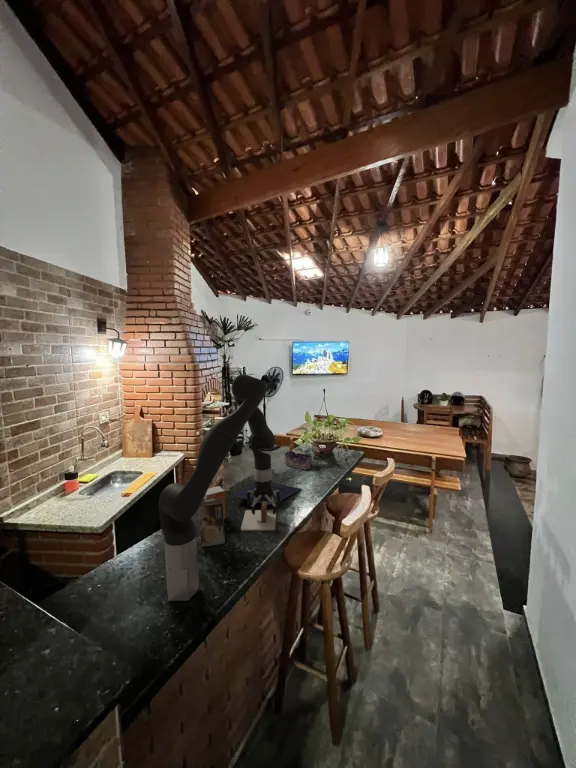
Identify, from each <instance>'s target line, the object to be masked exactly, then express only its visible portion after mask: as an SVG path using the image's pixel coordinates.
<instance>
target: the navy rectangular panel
mask: <svg viewBox="0 0 576 768" xmlns="http://www.w3.org/2000/svg"><path fill="white" fill-rule="evenodd" d="M277 489H279V491H280V502H282V501H284V499H287V498H288V497H290V496H291V495H293V494H295V493H297V492H300V491H301V490H302V488H300V487H295V486H290V485H285V484H281V483H276V482H273V481H272V490H273V491H277ZM248 490H250V491H254V490H255V485H254V484H252V485H249V486H247V487H244V488H243V489H241V490H238V492H237V491H236V493H235V494H234V495H233V497H237V498H240V499H243V500H244V499H245V500H247V492H248ZM272 497H273V499H274V500H275V501H277V496H275V494H273V495H272ZM254 499H255V495H254V494H252V496H250V501H251V502H252V501H253V500H254ZM262 502H267V506H270V505H272V504H271V503H270V502H269V501H259V500H258V502H257V503H259V504H262Z"/></svg>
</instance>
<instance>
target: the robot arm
mask: <svg viewBox="0 0 576 768" xmlns="http://www.w3.org/2000/svg"><path fill="white" fill-rule="evenodd" d="M267 387H268V386H267V383H266V381H264V380H262V379H260V378H257V377H254V376H251V375H247V374H239V375H237V376H236V377H235V378H234V379H233V381H232V384H231V393H232V396H233V398H234V400H235V401H236V402H237V404H238V406H239V407H237V409H236V410H234V411H233V412H231V413H229V414H228V415H227V416H224V417H223V418H221V419H219V420H218V421H216V422H215V423H214V424H212V425H211V427H210V428H209V429H208V431H207V432H206V434H205V436H204V437H203V438H202V441H201V443H200V445H199V448H198V454H197V460H196V466H195V467H194V468H195V469H194V470H193V473H192V475H191V476H190V477H189V479H188V481H187V482H186V484H182V483H179V482H173V483H171V484H168V485H167V486H166V487H164V488H163V490H161V491H162V492H161V493H160V495H159V500H158V513H159V523H160V529H161V531H162V534H163V537H164V555H165V556H164V557H165V571H166V572H165V574H166V589H167V600H168V601H169V602H171V601H172V602H173V601H175V602H176V601H177V602H178V601H179V602H181V601H182V602H183V601H185V602H186V601H190V599H191V598H192V597H193V596H194V595H196V593H197V592H198V591H199V586H200V584H199V567H198V566H199V564H198V563H199V562H198V561H199V560H198V546H197V545H198V543H197V541H198V540H197V528H196V527H197V526H196V524H195V522H194V521H193V519H192V518H193V516H194V515H196V513H197V511H199V507H200V505H201V503H202V501H203V498H204V496H205V494H206V492H207V490H208V489H209V488H210V486H211V484H212V482H213V480H214V478H215V476H216V475H217V473H218V471H219V469H220V467H221V465H222V464H223V462H224V460H225V459H226V457H227V456H228V454H229V452H230V450H231V449H232V447H233V446H234V444H235V442H236V441H237V438H238V437H239V435H240V434H241V432H242V431H243V429H244V427H245V425H246V424H247V423H248V427H249V430H250V431H249V432H250V433H251V434H250V436H249V444H250V447H251V448H250V449H251V451H252V454H253V459H254V472H253V475H254V476H253V478H254V479H253V481H254V482H253V485H255V490H254V491H250V490H248V492H247V499H246V505H247V506H250V508H251V509H250V510H251V511H252V514H253V515H255V510H256V504H257V503H259V502H258V500H259V501H269V502H270V503H271V504H270V505H272V510H273V515H275V513H276V514H277V506H280V505H281V501H280V491H279V489H277V491H273V490H272V482H273V472H272V456H271V454H270V453H268V452H264V451H262V450H263V449H264V450H269V449H272V448H273V447H274V446H275V444H276V437H275V435H274V433H273V431H272V429H270V427H269V426H268V423H267V420H266V417H265V414H264V413H263V412H262V410H261V408H260V407H259V406H260V404H261V402H262V401H263V399H264V398H265V396H266V393H267ZM252 494H254V495H255V499H254V500H253V501H251V500H250V496H252ZM273 494H275V496H277V501H275V500H274V499H273V497H272V495H273Z"/></svg>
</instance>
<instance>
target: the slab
mask: <svg viewBox="0 0 576 768" xmlns="http://www.w3.org/2000/svg"><path fill="white" fill-rule="evenodd" d="M260 510H261V523H266V519H267V510H268V505H267V502H262V503H261V507H260Z"/></svg>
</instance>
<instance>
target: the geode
mask: <svg viewBox="0 0 576 768" xmlns="http://www.w3.org/2000/svg"><path fill="white" fill-rule="evenodd" d="M283 461H284V465H285V464H286V465H288V466H287V467H290V466H291V467H292V468H294V467H295V468H294V469H297V468H300V469H299V470H303V469H304V471H307V470H308V471H309V470H311V467H312V465H313V458H312V455H311V454H306V453H299V452H298V453H297V452H295V451H293V450H292V449H290V450H289V451H286V452H285V453H284V460H283ZM286 465H285V466H286ZM291 467H290V468H291Z"/></svg>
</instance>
